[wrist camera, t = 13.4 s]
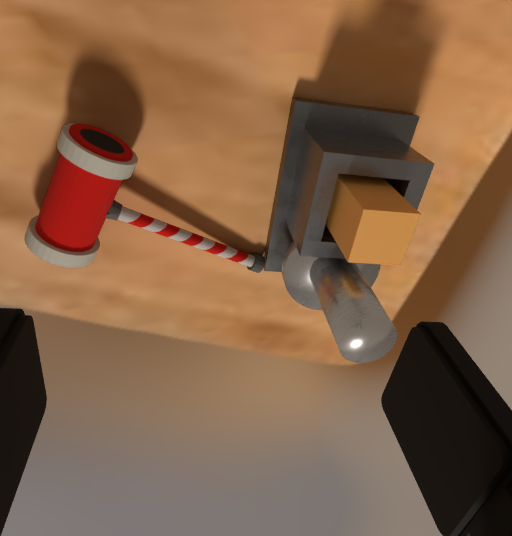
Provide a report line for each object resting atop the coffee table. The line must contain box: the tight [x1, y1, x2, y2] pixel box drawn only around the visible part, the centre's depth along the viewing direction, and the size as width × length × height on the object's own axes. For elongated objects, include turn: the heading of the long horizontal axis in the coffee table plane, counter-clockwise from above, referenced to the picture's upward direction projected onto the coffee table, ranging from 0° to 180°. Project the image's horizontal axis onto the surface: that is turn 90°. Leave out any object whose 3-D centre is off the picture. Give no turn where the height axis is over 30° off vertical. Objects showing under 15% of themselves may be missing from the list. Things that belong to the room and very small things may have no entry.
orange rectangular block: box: [326, 173, 421, 265], centre depth 37 cm, size 4×4×12 cm
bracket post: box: [264, 97, 434, 363], centre depth 38 cm, size 20×12×16 cm, turn 172°
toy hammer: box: [25, 123, 265, 273], centre depth 41 cm, size 23×12×6 cm, turn 60°
